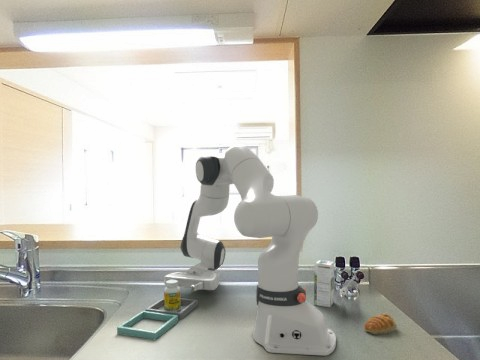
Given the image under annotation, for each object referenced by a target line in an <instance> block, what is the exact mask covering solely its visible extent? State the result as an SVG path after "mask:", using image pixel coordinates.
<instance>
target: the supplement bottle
mask: <svg viewBox="0 0 480 360" xmlns="http://www.w3.org/2000/svg"><path fill="white" fill-rule="evenodd" d="M163 295H164V296H163V298H164V304H163V306H164V309H163V310H164V311H171V312H180V310H181V306H182V304H181V302H180V298H181V287H178V281H177V280H168V281H166V287H164V290H163Z"/></svg>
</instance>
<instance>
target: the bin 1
mask: <svg viewBox="0 0 480 360" xmlns="http://www.w3.org/2000/svg"><path fill="white" fill-rule="evenodd" d="M143 319H149V320H156V321H157V320H158V321H165V323H164V324H162V325H161V326H160V327H158V328H157V329H156V330H155V331H153V330H147V329H142V328H141V329H139V328H134V327H132V326H134V325H135V324H136V323H138V322H140V321H141V320H143ZM178 321H179V319H178V315H171V314H163V313H155V312H148V311H145V310H142V311H141V312H138V313H137V314H135V315H134V316H132V317H131V318H129V319H128V320H126V321H124V322H123V323H122V324H120V325H118V326H116V327H117V328H116V333H117V335H125V336H132V337H138V338H144V339H148V340H149V339H150V340H157V339H158V338H160V337H161V336H162V335H163V334H164V333H166V332H167V331H168V330H169V329H170V328H172V327H173V326H175V325H176V324H177V323H178Z"/></svg>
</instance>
